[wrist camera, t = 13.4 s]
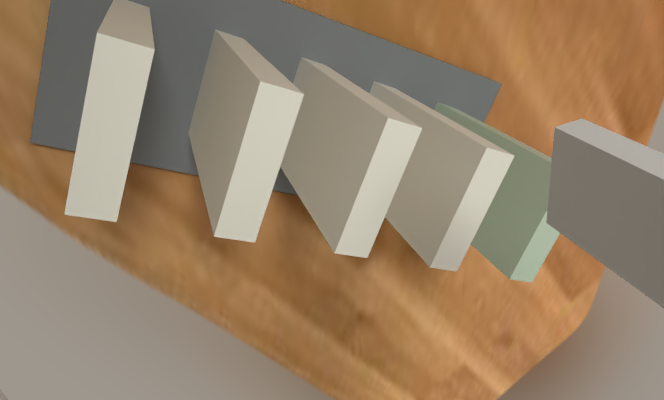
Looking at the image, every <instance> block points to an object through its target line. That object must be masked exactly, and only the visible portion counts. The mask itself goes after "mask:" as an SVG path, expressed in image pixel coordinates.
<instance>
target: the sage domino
mask: <svg viewBox="0 0 664 400" xmlns="http://www.w3.org/2000/svg"><path fill="white" fill-rule="evenodd" d="M434 110H435V111H436V112H438V113H440V114H442V115H443V116H445V117H447V118H449V119H451V120H452V121H454V122H456V123H458V124H459V125H461V126H463V127H465V128H466V129H468V130H470V131H472V132H474V133H475V134H477V135H479V136H481V137H482V138H484V139H486V140H488V141H490V142H491V143H493V144H495V145H497V146H498V147H500V148H502V149H504V150H505V151H507V152H509V153H511V154H513V155H514V158H513V160H512V162H511V164H510V166H509V168H508V170H507V172H506V174H505V176H504V178H503V180H502V182H501V184H500V186H499V188H498V190H497V192H496V194H495V196H494V198H493V200H492V202H491V204H490V206H489V208H488V210H487V212H486V214H485V216H484V218H483V220H482V222H481V224H480V226H479V228H478V230H477V232H476V234H475V236H474V238H473V240H472V242H471V245H472V246H473V247H475V248H476V249H477V250H478V251H479V252H480V253H481V254H482V255H483V256H484V257H486V258H487V259H488V260H489V261H490V262H491V263H492V264H493V265H494V266H495V267H497V268H498V269H499V270H500V271H501V272H502V273H503V274H504V275H505V276H507V277H508V278H509V279H512V280H519V281H526V282H533V280H534V278H535V276H536V274H537V273H538V271H539V269H540V267H541V266H542V264H543V262H544V260H545V258H546V257H547V255H548V253H549V251H550V250H551V248H552V246H553V244H554V243H555V241H556V239H557V237H558V235H559V234H560V232H558V231H557V230H555V229H554V228H553V227H551V226H550V225H549V224H547V223H546V220H547V209H548V198H549V187H550V175H551V164H552V158H551V157H549V156H547V155H545V154H543V153H541V152H539V151H537V150H535V149H533V148H531V147H530V146H528V145H526V144H524V143H522V142H520V141H518V140H516V139H514V138H512V137H510V136H508V135H506V134H504V133H503V132H501V131H499V130H497V129H495V128H493V127H491V126H489V125H487V124H485V123H483V122H481V121H479V120H478V119H476V118H474V117H472V116H470V115H468V114H466V113H464V112H462V111H460V110H458V109H456V108H453V107H450V106H447V105H444V104H441V103H438V102H437V105H436V107H435V109H434Z"/></svg>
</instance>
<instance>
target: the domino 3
mask: <svg viewBox="0 0 664 400" xmlns="http://www.w3.org/2000/svg"><path fill="white" fill-rule="evenodd" d="M293 84H294V85H295V86H296V87H297V88H298V89H299V90H300V91H301V92H302V93H303V94H304V96H303V99H302V102H301V105H300V108H299V111H298V114H297V117H296V120H295V123H294V126H293V129H292V132H291V135H290V138H289V141H288V145H287V148H286V151H285V154H284V157H283V160H282V163H281V166H280V167H281V169H282V170H283V172H284V173H285V175H286V177H287V178H288V180H289V181H290V183H291V185H292V186H293V188H294V189H295V191H296V193H297V194H298V196H299V197H300V199H301V201H302V202H303V204H304V205H305V207H306V209H307V210H308V212H309V213H310V215H311V217H312V218H313V220H314V221H315V223H316V225H317V226H318V228H319V229H320V231H321V233H322V234H323V236H324V237H325V239H326V241H327V242H328V244H329V245H330V247H331V249H332V250H333V252H334V253H336V254H343V255H349V256H356V257H363V258H368V255H369V253H370V251H371V248H372V246H373V244H374V241H375V239H376V236H377V234H378V232H379V229H380V227H381V225H382V222H383V220H384V218H385V215H386V213H387V211H388V208H389V206H390V203H391V201H392V199H393V196H394V194H395V192H396V189H397V187H398V185H399V182H400V180H401V178H402V175H403V173H404V170H405V168H406V166H407V163H408V161H409V159H410V156H411V154H412V152H413V149H414V147H415V145H416V142H417V140H418V137H419V135H420V133H421V130H422V127H420V126H419V125H417V124H415V123H414V122H412V121H411V120H409V119H408V118H406V117H405V116H403V115H402V114H400V113H399V112H397V111H395V110H394V109H392V108H391V107H389V106H388V105H386V104H385V103H383V102H382V101H380V100H379V99H377V98H376V97H374V96H372V95H371V94H369V93H368V92H366V91H365V90H363V89H362V88H360V87H359V86H357V85H356V84H354V83H353V82H351V81H349V80H348V79H346V78H345V77H343V76H342V75H340V74H339V73H337V72H336V71H334V70H333V69H331V68H329V67H328V66H326V65H324V64H321V63H318V62H315V61H312V60H309V59H306V58H303V57H301V60H300V63H299V66H298V69H297V72H296V75H295V78H294V81H293Z"/></svg>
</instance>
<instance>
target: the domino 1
mask: <svg viewBox="0 0 664 400" xmlns="http://www.w3.org/2000/svg"><path fill="white" fill-rule="evenodd" d="M154 51H155V48H154V40H153V32H152V24H151V16H150V8H149V7H147V6H144V5H141V4H138V3H135V2H132V1H128V0H113V2H112V4H111V6H110V8H109V10H108V12H107V14H106V16H105V18H104V20H103V22H102V24H101V26H100V28H99V30H98V31H97V35H96V41H95V46H94V52H93V57H92V63H91V68H90V74H89V80H88V85H87V91H86V96H85V102H84V107H83V113H82V119H81V124H80V130H79V135H78V141H77V146H76V152H75V157H74V163H73V169H72V174H71V180H70V185H69V191H68V196H67V202H66V207H65V213H64V215H71V216H78V217H85V218H92V219H99V220H106V221H112V222H117V218H118V214H119V209H120V204H121V200H122V195H123V191H124V186H125V182H126V177H127V173H128V168H129V164H130V159H131V155H132V150H133V146H134V141H135V137H136V132H137V128H138V123H139V118H140V114H141V109H142V105H143V100H144V96H145V91H146V87H147V82H148V78H149V73H150V69H151V64H152V60H153V55H154Z"/></svg>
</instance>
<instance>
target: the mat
mask: <svg viewBox="0 0 664 400" xmlns="http://www.w3.org/2000/svg"><path fill="white" fill-rule="evenodd" d="M128 1H132V2H135V3H138V4H141V5H144V6H147V7H149V8H150V16H151V24H152V32H153V40H154V48H155V51H154V55H153V60H152V64H151V69H150V73H149V78H148V82H147V87H146V91H145V96H144V100H143V105H142V109H141V114H140V118H139V123H138V128H137V132H136V137H135V141H134V146H133V150H132V155H131V159H130V162H131V163H136V164H141V165H146V166H152V167H157V168H162V169H167V170H172V171H177V172H182V173H187V174H192V175H197V176H199V174H198V170H197V166H196V162H195V158H194V154H193V150H192V146H191V142H190V138H189V134H188V132H189V128H190V125H191V121H192V117H193V113H194V109H195V105H196V101H197V97H198V94H199V90H200V86H201V82H202V78H203V74H204V70H205V67H206V63H207V59H208V55H209V51H210V47H211V43H212V39H213V36H214V32H215V29H216V30H219V31H222V32H225V33H228V34H231V35H234V36H237V37H240V38H243V39H245V40H246V41H247V42H248V43H249V44H250V45H251V46H252V47H253V48H254V49H256V50H257V51H258V52H259V53H260V54H261V55H262V56H263V57H264V58H265V59H266V60H268V61H269V62H270V63H271V64H272V65H273V66H274V67H275V68H276V69H277V70H278V71H279V72H281V73H282V74H283V75H284V76H285V77H286V78H287V79H288V80H289V81H290V82H291V83H293V81H294V78H295V75H296V72H297V69H298V66H299V63H300V60H301V57H303V58H306V59H309V60H312V61H315V62H318V63H321V64H324V65H326V66H328V67H329V68H331V69H333V70H334V71H336V72H337V73H339V74H340V75H342V76H343V77H345V78H346V79H348V80H349V81H351V82H353V83H354V84H356V85H357V86H359V87H360V88H362V89H363V90H365V91H366V92H368V93H370V90H371V88H372V85H373V82H374V81H375V82H378V83H381V84H384V85H387V86H390V87H393V88H396V89H397V90H399V91H401V92H403V93H404V94H406V95H408V96H410V97H412V98H413V99H415V100H417V101H419V102H420V103H422V104H424V105H426V106H428V107H429V108H431V109H433V110H434V109H435V107H436V105H437V102H438V103H441V104H444V105H447V106H450V107H453V108H456V109H458V110H460V111H462V112H464V113H466V114H468V115H470V116H472V117H474V118H476V119H478V120H479V121H481V122H483V123H484V121H485V119H486V117H487V115H488V113H489V111H490V108H491V106H492V104H493V102H494V100H495V98H496V96H497V93H498V91H499V89H500V87H501V85H502V84H501V83H498V82H496V81H493V80H490V79H488V78H485V77H482V76H480V75H477V74H474V73H472V72H469V71H466V70H464V69H461V68H458V67H456V66H453V65H450V64H448V63H445V62H442V61H440V60H437V59H435V58H432V57H429V56H427V55H424V54H421V53H419V52H416V51H413V50H411V49H408V48H405V47H403V46H400V45H397V44H395V43H392V42H389V41H387V40H384V39H381V38H379V37H376V36H373V35H371V34H368V33H365V32H363V31H360V30H357V29H355V28H352V27H350V26H347V25H344V24H342V23H339V22H336V21H334V20H331V19H328V18H326V17H323V16H320V15H318V14H315V13H312V12H310V11H307V10H304V9H302V8H299V7H296V6H294V5H291V4H288V3H286V2H283V1H280V0H128ZM112 2H113V0H51V3H50V10H49V17H48V24H47V31H46V38H45V44H44V51H43V58H42V65H41V72H40V79H39V86H38V92H37V99H36V106H35V113H34V120H33V127H32V133H31V140H30V143H34V144H39V145H44V146H50V147H55V148H60V149H65V150H70V151H75V152H76V146H77V141H78V135H79V130H80V124H81V119H82V113H83V107H84V102H85V96H86V91H87V85H88V80H89V74H90V68H91V63H92V57H93V52H94V46H95V41H96V35H97V31H98V30H99V28H100V26H101V24H102V22H103V20H104V18H105V16H106V14H107V12H108V10H109V8H110V6H111V4H112ZM273 190H274V191H279V192H284V193H289V194H294V195H298V194H297V193H296V191H295V189H294V188H293V186H292V185H291V183H290V181H289V180H288V178H287V177H286V175H285V173H284V172H283V170H282V169H281V167H280V169H279V172H278V175H277V178H276V181H275V184H274V187H273Z"/></svg>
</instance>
